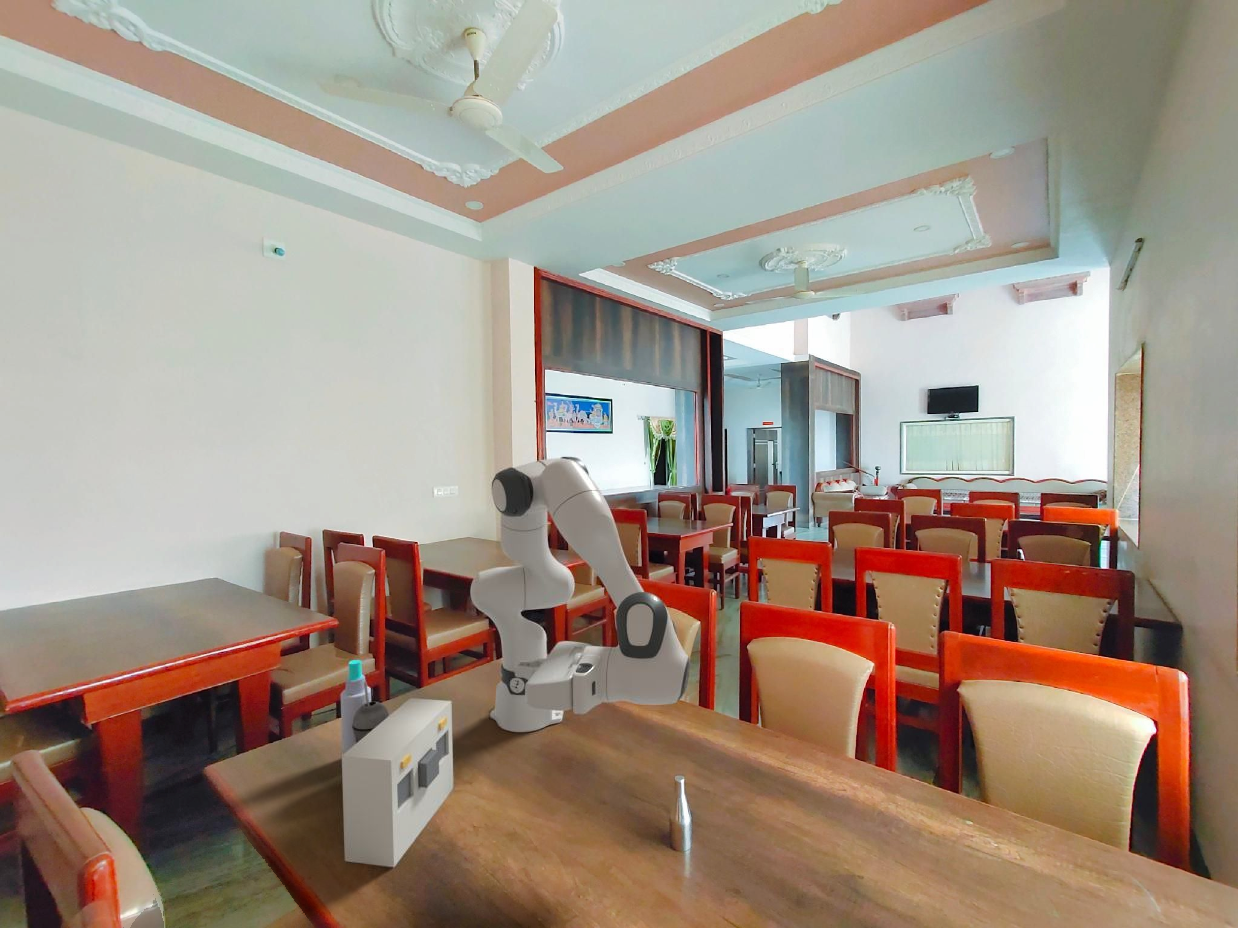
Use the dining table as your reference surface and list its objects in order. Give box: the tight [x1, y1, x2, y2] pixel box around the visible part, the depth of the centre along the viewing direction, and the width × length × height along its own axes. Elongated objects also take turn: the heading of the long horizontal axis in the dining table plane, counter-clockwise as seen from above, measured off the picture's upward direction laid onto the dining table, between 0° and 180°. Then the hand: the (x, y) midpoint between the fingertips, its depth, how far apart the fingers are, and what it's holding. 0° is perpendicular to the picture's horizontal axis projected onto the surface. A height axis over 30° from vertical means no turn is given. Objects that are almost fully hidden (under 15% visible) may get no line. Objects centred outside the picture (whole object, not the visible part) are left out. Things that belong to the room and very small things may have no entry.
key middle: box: [418, 749, 439, 788], centre depth 100 cm, size 4×4×4 cm
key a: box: [397, 771, 410, 808], centre depth 94 cm, size 4×4×4 cm
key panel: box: [341, 697, 454, 868], centre depth 101 cm, size 21×9×18 cm, turn 170°
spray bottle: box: [340, 659, 372, 756], centre depth 122 cm, size 6×6×22 cm
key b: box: [436, 734, 446, 760], centre depth 107 cm, size 4×4×4 cm
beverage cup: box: [352, 681, 390, 743], centre depth 115 cm, size 7×7×20 cm
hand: (517, 668), depth 97 cm, fingers closed
